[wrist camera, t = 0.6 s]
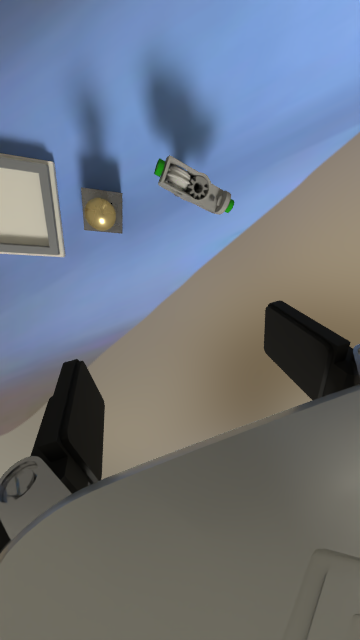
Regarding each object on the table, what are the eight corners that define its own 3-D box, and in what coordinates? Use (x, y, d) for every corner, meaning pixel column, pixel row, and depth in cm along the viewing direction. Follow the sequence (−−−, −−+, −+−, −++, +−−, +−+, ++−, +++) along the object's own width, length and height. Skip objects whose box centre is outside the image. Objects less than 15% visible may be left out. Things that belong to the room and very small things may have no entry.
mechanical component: (201, 214, 37) (228, 218, 28) (143, 185, 33) (153, 179, 24) (209, 195, 36) (239, 194, 27) (150, 163, 32) (163, 149, 23)
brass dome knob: (89, 196, 28) (83, 195, 23) (115, 200, 29) (115, 199, 23) (91, 223, 30) (85, 229, 24) (115, 225, 31) (116, 231, 25)
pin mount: (84, 188, 31) (81, 187, 28) (121, 193, 32) (122, 193, 29) (87, 226, 33) (84, 229, 30) (121, 230, 35) (122, 233, 31)
